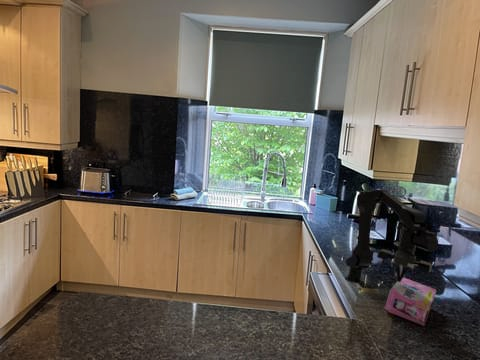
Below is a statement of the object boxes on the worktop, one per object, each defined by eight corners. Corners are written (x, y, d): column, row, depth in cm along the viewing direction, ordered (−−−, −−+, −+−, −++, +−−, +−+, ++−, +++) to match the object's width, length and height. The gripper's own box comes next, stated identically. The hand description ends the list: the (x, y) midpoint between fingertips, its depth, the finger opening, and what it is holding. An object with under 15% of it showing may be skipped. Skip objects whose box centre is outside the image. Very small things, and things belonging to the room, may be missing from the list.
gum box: (383, 310, 132) (423, 328, 125) (389, 290, 131) (429, 307, 124) (395, 293, 152) (431, 307, 145) (401, 275, 151) (437, 289, 144)
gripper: (377, 238, 137) (369, 277, 139) (432, 254, 127) (422, 296, 129) (384, 234, 147) (376, 271, 148) (435, 249, 136) (426, 288, 138)
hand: (399, 281), depth 141 cm, fingers closed
